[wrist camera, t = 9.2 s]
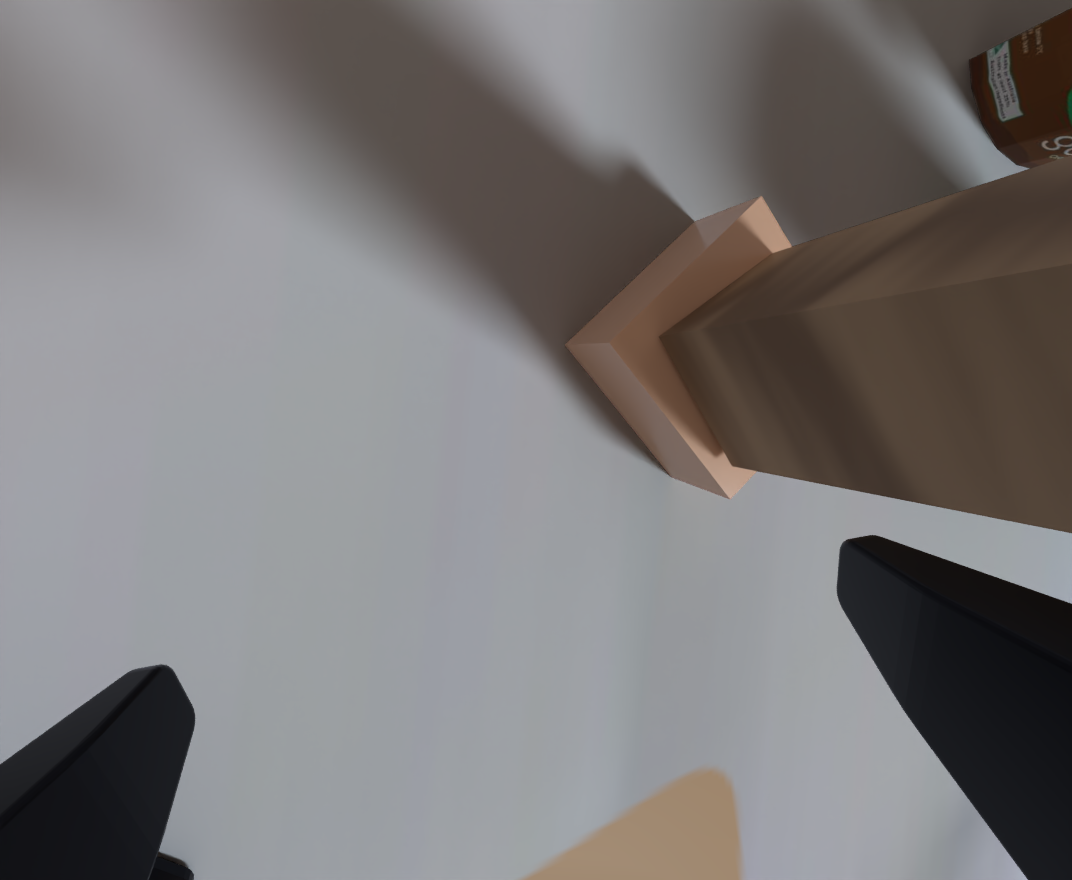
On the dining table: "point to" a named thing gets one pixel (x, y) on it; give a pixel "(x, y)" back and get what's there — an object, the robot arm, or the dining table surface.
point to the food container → (1028, 93)
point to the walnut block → (906, 354)
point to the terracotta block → (640, 357)
